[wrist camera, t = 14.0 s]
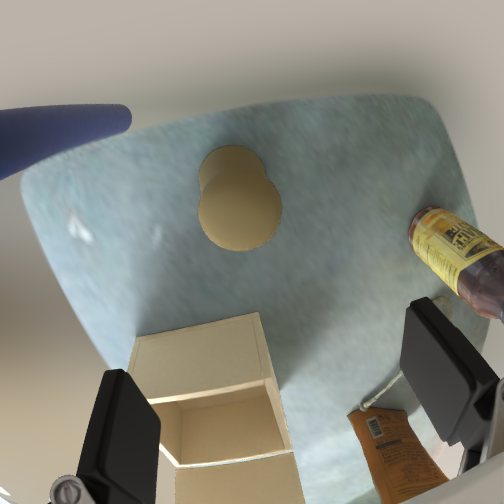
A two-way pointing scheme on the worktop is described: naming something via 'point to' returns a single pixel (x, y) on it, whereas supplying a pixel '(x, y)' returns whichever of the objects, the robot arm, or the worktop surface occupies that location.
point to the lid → (242, 483)
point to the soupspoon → (447, 310)
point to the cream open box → (212, 391)
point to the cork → (237, 199)
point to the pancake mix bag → (395, 455)
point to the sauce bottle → (461, 259)
